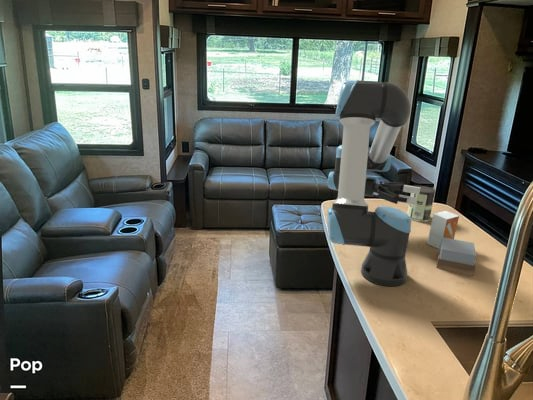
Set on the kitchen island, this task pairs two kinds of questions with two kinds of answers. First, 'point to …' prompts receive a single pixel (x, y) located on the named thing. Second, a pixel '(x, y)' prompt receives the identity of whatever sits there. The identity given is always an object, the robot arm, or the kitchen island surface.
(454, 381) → the kitchen island surface
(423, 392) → the kitchen island surface
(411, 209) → the coffee can
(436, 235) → the small box
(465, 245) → the upper block
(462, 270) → the lower block
